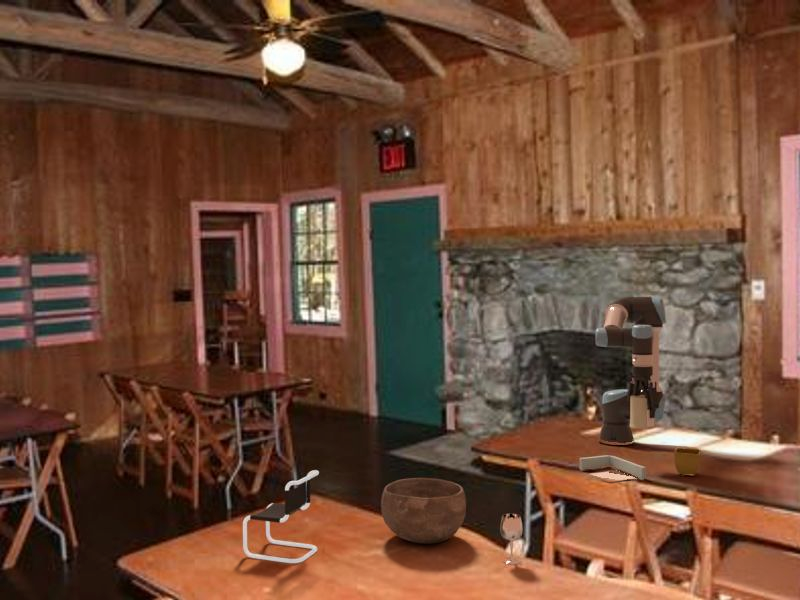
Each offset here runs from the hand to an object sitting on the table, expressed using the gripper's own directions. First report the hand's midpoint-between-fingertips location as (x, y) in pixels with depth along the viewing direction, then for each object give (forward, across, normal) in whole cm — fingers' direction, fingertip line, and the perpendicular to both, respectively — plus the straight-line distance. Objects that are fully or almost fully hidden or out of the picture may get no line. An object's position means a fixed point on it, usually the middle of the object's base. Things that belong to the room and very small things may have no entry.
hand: (642, 424), depth 304 cm
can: (+1, 0, 0) cm, 1 cm away
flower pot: (+18, +13, +10) cm, 24 cm away
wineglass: (+18, +68, -93) cm, 116 cm away
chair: (+18, +38, -148) cm, 154 cm away
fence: (+17, +2, -15) cm, 23 cm away
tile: (+17, +6, -18) cm, 25 cm away
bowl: (+18, +42, -108) cm, 117 cm away
